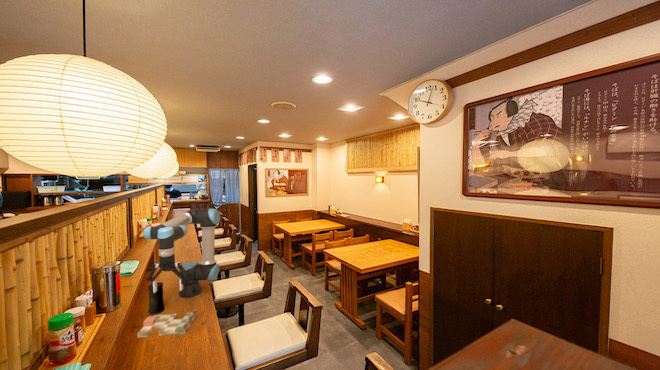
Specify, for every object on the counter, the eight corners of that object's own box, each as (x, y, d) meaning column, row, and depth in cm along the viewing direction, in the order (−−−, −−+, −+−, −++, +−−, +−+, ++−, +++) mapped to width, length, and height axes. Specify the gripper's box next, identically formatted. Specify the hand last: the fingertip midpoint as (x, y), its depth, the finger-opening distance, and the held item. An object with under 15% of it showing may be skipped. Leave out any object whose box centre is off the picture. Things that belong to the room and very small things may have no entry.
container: (146, 311, 165) (145, 285, 164) (162, 305, 172) (161, 280, 170) (150, 316, 159) (148, 289, 158) (166, 310, 166) (165, 285, 164)
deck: (153, 319, 157) (153, 312, 156) (196, 315, 161) (195, 309, 160) (137, 337, 140) (137, 330, 140) (185, 333, 144) (185, 326, 144)
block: (148, 321, 151) (148, 316, 150) (157, 320, 151) (157, 315, 151) (143, 326, 146) (143, 321, 145) (152, 325, 147) (152, 321, 146)
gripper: (138, 258, 134) (140, 296, 136) (188, 255, 139) (189, 291, 141) (145, 253, 142) (147, 289, 144) (193, 251, 147) (194, 285, 148)
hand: (168, 290), depth 142 cm, fingers open, 13 cm apart
